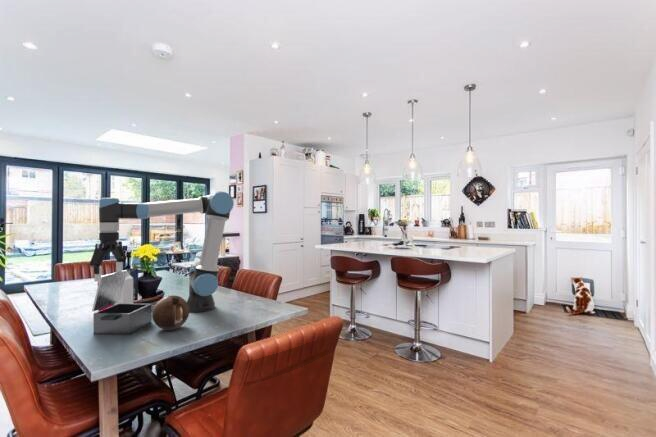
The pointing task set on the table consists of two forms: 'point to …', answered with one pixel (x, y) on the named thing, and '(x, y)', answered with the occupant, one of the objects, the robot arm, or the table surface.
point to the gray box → (122, 319)
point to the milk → (127, 291)
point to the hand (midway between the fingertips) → (109, 278)
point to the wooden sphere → (170, 312)
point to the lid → (109, 289)
